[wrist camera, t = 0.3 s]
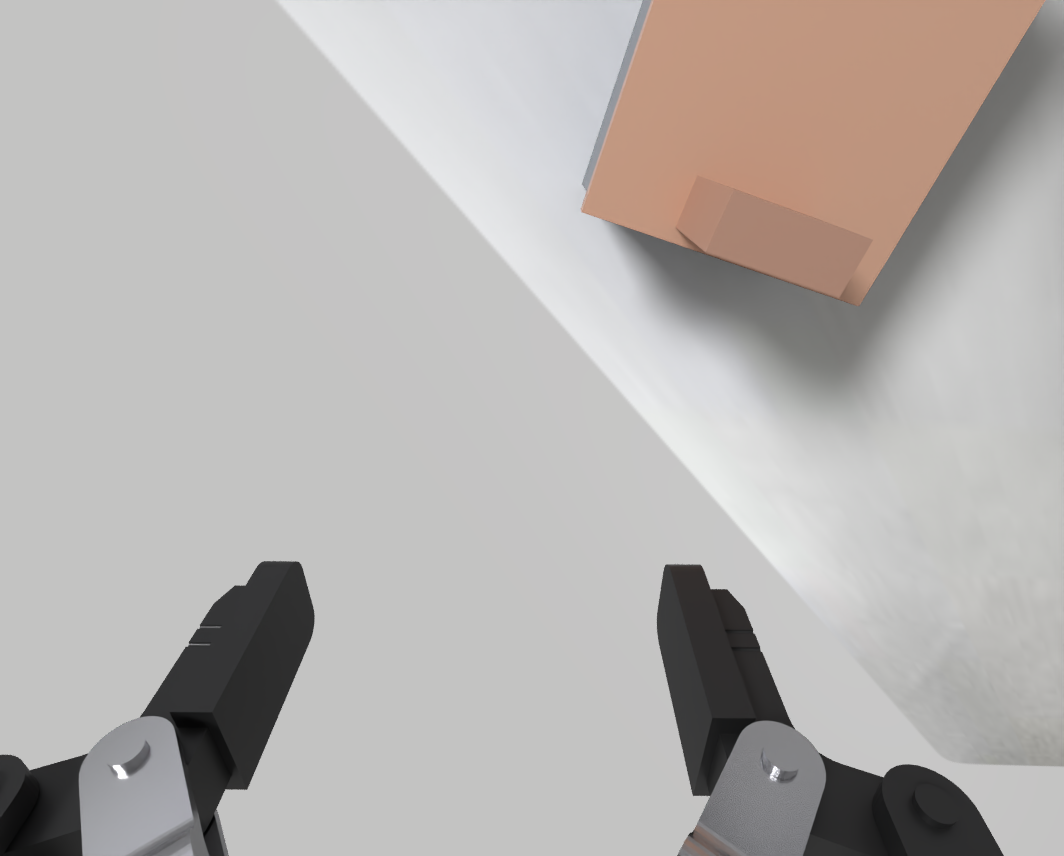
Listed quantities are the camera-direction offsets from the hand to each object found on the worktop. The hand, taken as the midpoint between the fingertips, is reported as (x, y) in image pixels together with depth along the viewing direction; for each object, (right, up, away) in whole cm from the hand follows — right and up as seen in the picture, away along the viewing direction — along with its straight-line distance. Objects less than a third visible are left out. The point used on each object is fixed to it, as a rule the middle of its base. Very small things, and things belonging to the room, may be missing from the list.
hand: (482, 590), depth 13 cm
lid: (+13, +21, +13) cm, 28 cm away
